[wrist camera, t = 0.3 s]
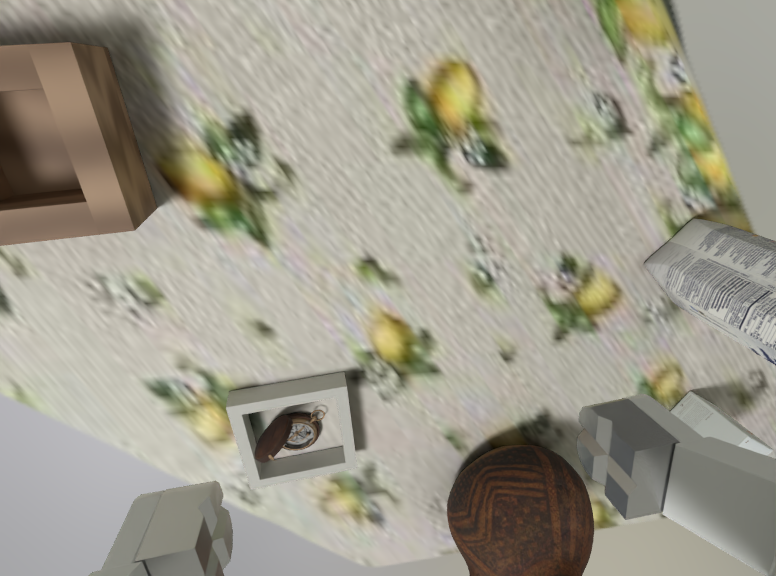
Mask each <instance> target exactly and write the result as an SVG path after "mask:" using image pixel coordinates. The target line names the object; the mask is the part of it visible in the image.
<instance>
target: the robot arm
mask: <svg viewBox="0 0 776 576" xmlns="http://www.w3.org/2000/svg"><path fill="white" fill-rule="evenodd" d="M579 423H580V424H581V425H582V426H583V427H584V429H583V430H582V432H581V433H580V434H579V436H578V437H577V451H578V455H579V458H580V462H581V464H582V465H583V467H584V469H585V471H586V472H587V473H588V475H589V476H590V477H591V478H592V479H593V480H595V481H597V482H599V483H601V484H603V485H605V496H606V497H607V498H608V499H609V501H610V502H611V503H612V504H613V505H614V507H615V508H616V509H617V510H618V511H619V513H620V514H621V515H622V516H623V518H624V519H625V520H627V519H632V518H637V517H642V516H647V515H651V514H656V513H661V512H663V515H665V516H666V517H668V518H670V519H671V520H673V521H675V522H676V523H678V524H680V525H681V526H683V527H685V528H686V529H688V530H690V531H691V532H693V533H695V534H696V535H698V536H700V537H701V538H703V539H705V540H707V541H708V542H710V543H712V544H713V545H715V546H716V547H718V548H720V549H721V550H723V551H725V552H726V553H728V554H730V555H732V556H733V557H735V558H737V559H738V560H740V561H742V562H743V563H745V564H746V565H748V566H750V567H752V568H753V569H755V570H756V571H759V572H760V573H762V574H763V575H765V576H776V459H774V458H771V457H768V456H766V455H763V454H760V453H757V452H754V451H751V450H748V449H745V448H742V447H739V446H736V445H734V444H731V443H728V442H725V441H722V440H719V439H716V438H713V437H705V438H703V437H702V436H701V435H700V434H698V433H697V432H696V431H694V430H693V429H692V428H691V427H689V426H688V425H687V424H685V423H684V422H683V421H681V420H680V419H679V418H678V417H676V416H675V415H674V414H672V413H671V412H670V411H668V410H667V409H666V408H665V407H663V406H662V405H661V404H659V403H658V402H657V401H656V400H654V399H653V398H652V397H650V396H648V395H645V394H639V395H635V396H630V397H626V398H622V399H618V400H614V401H609V402H604V403H599V404H594V405H590V406H585V407H582V409H581V411H580V413H579ZM222 499H223V492H222V489H221V486H220V484H219V482H217V481H212V482H206V483H201V484H195V485H189V486H184V487H178V488H173V489H167V490H165V491H159V492H153V493H147V494H141V495H140V496H138V497H137V498H136V499H135V500H134V502H133V504H132V506H131V508H130V510H129V512H128V514H127V517H126V519H125V521H124V523H123V525H122V527H121V529H120V531H119V534H118V535H117V538H116V540H115V542H114V544H113V546H112V548H111V551H110V552H109V555H108V557H107V559H106V561H105V563H104V565H103V567H102V569H101V570H100V571H96V572H92V573H91V574H90V575H89V576H224V574H223V569H224V568H225V567H226V565H227V564H228V563H229V562H230V559H231V553H232V544H233V543H232V542H233V530H232V523H231V518H230V515H229V512H228V510H226V509H225V508H223V507H222V506H221V503H222Z"/></svg>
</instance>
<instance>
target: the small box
mask: <svg viewBox="0 0 776 576" xmlns="http://www.w3.org/2000/svg"><path fill="white" fill-rule="evenodd" d="M670 412H671V413H672V414H674V415H675V416H676V417H678V418H679V419H680V420H681V421H683V422H684V423H685V424H687V425H688V426H689V427H691V428H692V429H693V430H694V431H696V432H697V433H698V434H700V435H701V436H702V437H703V438H705V437H713V438H716V439H719V440H722V441H725V442H728V443H731V444H734V445H736V446H739V447H742V448H745V449H748V450H751V451H754V452H757V453H760V454H763V455H766V456H768V455H769V454H770V453H771V452H772V451H773V449H772V448H771V447H769V446H768V445H767V444H765V443H764V442H763V441H762V440H760V439H759V438H758V437H756V436H755V435H754V434H752V433H751V432H750V431H748V430H747V429H746V428H745V427H743V426H742V425H741V424H739V423H738V422H737V421H735V420H734V419H733V418H731V417H730V416H729V415H728V414H726V413H725V412H724V411H722V410H721V409H720V408H718V407H717V406H716V405H714V404H712V403H711V402H709V401H707V400H705V399H704V398H702V397H700V396H698V395H697V394H695V393H693V392H692V391H689V392H688V393H687V395H686V396H685V397H684V398H683V399H682V400H681V401H680V402H679V403H678V404H677V405H676V406H675V407H674V408H673V409H672V410H671V411H670Z"/></svg>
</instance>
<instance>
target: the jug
mask: <svg viewBox="0 0 776 576" xmlns="http://www.w3.org/2000/svg"><path fill="white" fill-rule="evenodd" d="M447 516H448V523H449V528H450V531H451V534H452V537H453V539H454V541H455V543H456V545H457V547H458V549H459V551H460V553H461V554H462V556H463V557H464V559H465V561H466V563H467V566H468V569H469V572H470V576H582V574H583V572H584V570H585V568H586V565H587V563H588V560H589V558H590V554H591V550H592V544H593V535H594V519H593V512H592V507H591V502H590V499H589V495H588V492H587V489H586V487H585V484H584V482H583V480H582V479H581V477H580V476H579V475H578V473H577V472H576V471H575V470H574V469H573V467H572V466H571V465H570V464H569V463H568V462H567V461H566V460H565V459H563V458H562V457H561V456H559V455H558V454H556V453H554V452H553V451H550V450H548V449H546V448H543V447H539V446H533V445H509V446H502V447H498V448H495V449H493V450H491V451H489V452H487V453H485V454H483V455H482V456H480V457H479V458H478V459H476V460H475V461H474V462H472V463H471V464H470V465H469V466H468V467H466V468H465V469H464V470H463V471H462V473H461V474H460V475H459V476H458V478H457V479H456V481H455V483H454V485H453V487H452V489H451V492H450V495H449V499H448V504H447Z"/></svg>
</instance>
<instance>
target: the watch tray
mask: <svg viewBox="0 0 776 576" xmlns="http://www.w3.org/2000/svg"><path fill="white" fill-rule="evenodd" d="M332 398H336V400H337V407H338V413H339V420H340V427H341V434H342V441H343V446H341V447H336V448H331V449H326V450H321V451H316V452H311V453H306V454H301V455H296V456H291V457H285V458H280V459H275V460H276V461H273V460H270V461H268V462H265V463H260V462H259V461H257V460H256V459H255V456H254V453H255V448H256V446H257V444H256V441H255V437H254V433H253V430H252V426H251V422H250V418H249V415H248V414H249V413H254V412H260V411H265V410H271V409H277V408H282V407H288V406H293V405H299V404H304V403H310V402H316V401H321V400H327V399H332ZM226 409H227V413H228V416H229V419H230V423H231V426H232V429H233V433H234V436H235V439H236V443H237V446H238V449H239V453H240V456H241V459H242V463H243V466H244V469H245V473H246V476H247V479H248V483H249V486H250V489H251V490H253V489H258V488H263V487H268V486H273V485H278V484H282V483H287V482H292V481H297V480H302V479H307V478H312V477H316V476H321V475H326V474H331V473H336V472H341V471H346V470H351V469H355V468H357V460H356V453H355V445H354V437H353V430H352V422H351V414H350V406H349V399H348V391H347V384H346V378H345V373H344V372H339V373H333V374H328V375H322V376H316V377H310V378H304V379H298V380H293V381H287V382H281V383H275V384H269V385H263V386H257V387H252V388H246V389H240V390H234V391H229V395H228V400H227V405H226Z"/></svg>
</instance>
